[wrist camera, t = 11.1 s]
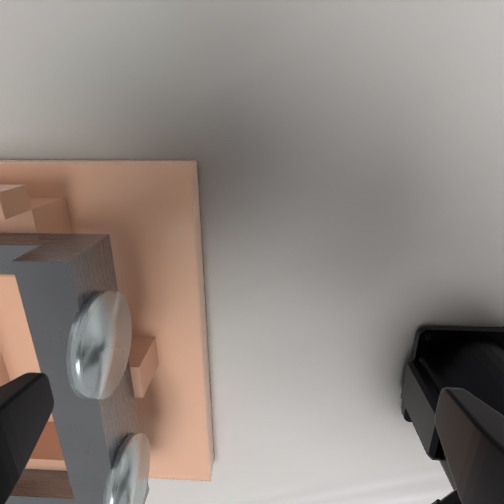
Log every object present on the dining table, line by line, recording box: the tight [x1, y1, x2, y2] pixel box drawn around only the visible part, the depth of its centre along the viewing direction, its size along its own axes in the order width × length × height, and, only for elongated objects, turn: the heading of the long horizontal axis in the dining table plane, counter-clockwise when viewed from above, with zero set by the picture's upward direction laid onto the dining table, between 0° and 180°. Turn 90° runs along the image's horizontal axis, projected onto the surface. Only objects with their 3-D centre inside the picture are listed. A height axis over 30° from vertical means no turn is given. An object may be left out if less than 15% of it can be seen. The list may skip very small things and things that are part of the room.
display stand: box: [0, 160, 214, 481], centre depth 18 cm, size 16×20×6 cm
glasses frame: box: [0, 233, 150, 504], centre depth 15 cm, size 10×15×4 cm
